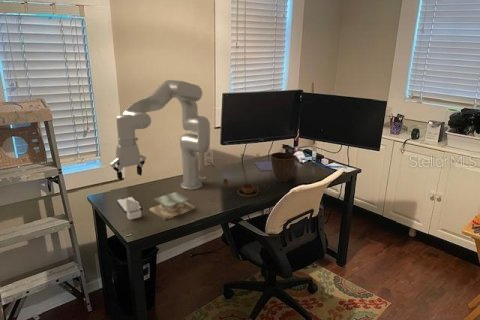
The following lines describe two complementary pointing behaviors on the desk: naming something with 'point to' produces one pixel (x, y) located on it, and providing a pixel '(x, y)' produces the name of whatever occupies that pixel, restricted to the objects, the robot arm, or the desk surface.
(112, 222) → the desk surface
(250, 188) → the place setting
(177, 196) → the stand
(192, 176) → the robot arm
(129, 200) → the white wedge bracket
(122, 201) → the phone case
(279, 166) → the plant pot
